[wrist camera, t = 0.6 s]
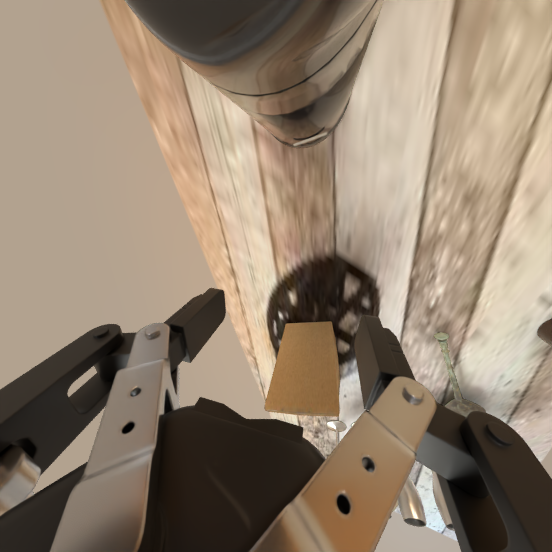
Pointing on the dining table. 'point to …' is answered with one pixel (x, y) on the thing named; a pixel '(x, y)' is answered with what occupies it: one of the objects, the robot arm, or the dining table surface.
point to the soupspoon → (455, 383)
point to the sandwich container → (306, 372)
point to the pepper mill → (546, 332)
